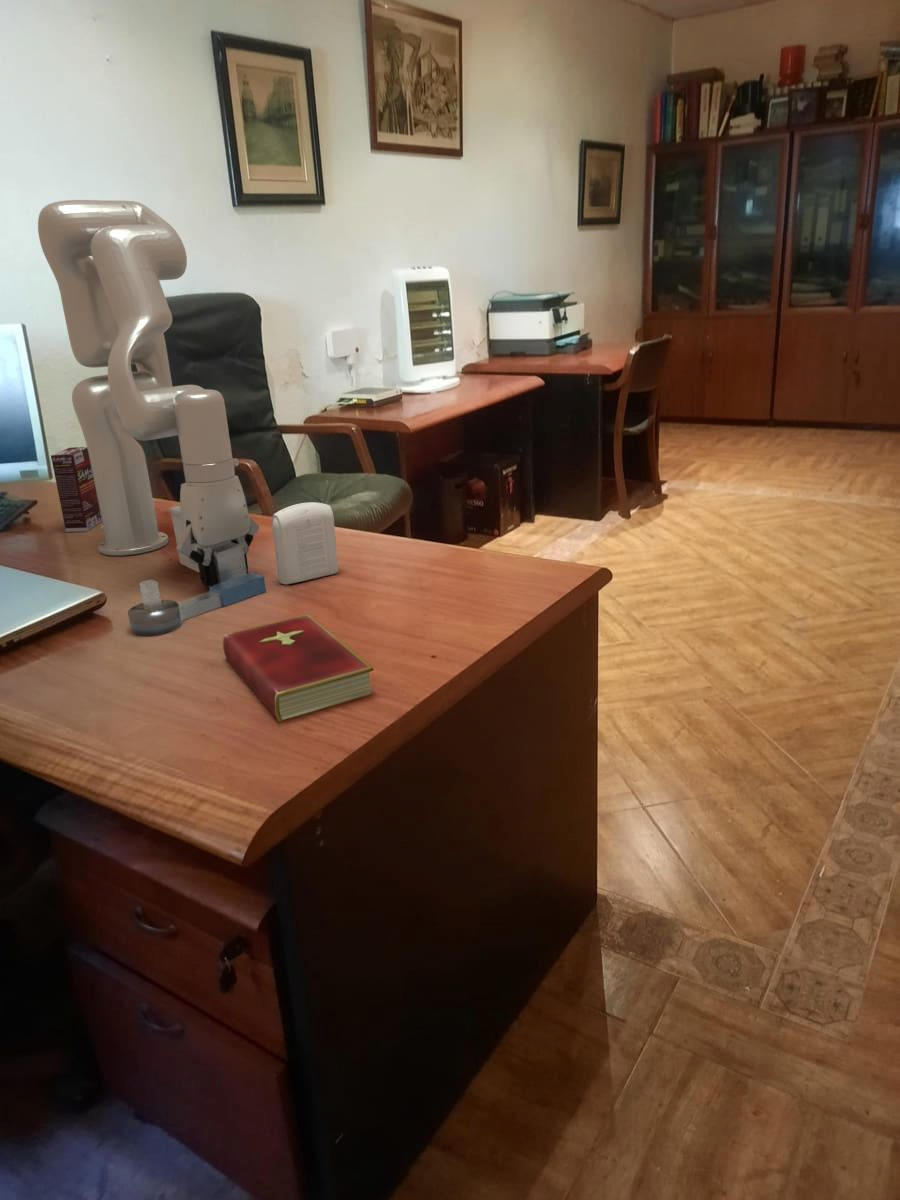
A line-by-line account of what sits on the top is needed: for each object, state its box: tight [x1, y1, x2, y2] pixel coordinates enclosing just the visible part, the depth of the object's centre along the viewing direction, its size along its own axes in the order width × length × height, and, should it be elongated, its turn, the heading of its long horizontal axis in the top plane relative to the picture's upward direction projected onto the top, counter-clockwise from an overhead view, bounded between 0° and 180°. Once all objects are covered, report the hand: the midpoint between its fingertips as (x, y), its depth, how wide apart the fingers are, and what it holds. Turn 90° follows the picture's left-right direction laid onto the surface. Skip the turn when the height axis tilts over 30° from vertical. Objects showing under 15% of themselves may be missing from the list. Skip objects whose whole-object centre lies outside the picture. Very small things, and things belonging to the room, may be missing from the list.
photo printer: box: [271, 501, 339, 585], centre depth 143 cm, size 10×4×12 cm, turn 123°
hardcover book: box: [222, 613, 374, 723], centre depth 109 cm, size 12×21×4 cm, turn 29°
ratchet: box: [127, 572, 267, 637], centre depth 132 cm, size 7×22×7 cm, turn 139°
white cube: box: [210, 541, 247, 584], centre depth 143 cm, size 5×5×6 cm
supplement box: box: [50, 446, 102, 533], centre depth 181 cm, size 9×5×16 cm, turn 179°
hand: (225, 580), depth 144 cm, fingers open, 5 cm apart
